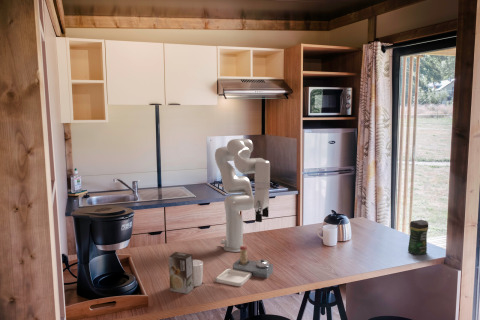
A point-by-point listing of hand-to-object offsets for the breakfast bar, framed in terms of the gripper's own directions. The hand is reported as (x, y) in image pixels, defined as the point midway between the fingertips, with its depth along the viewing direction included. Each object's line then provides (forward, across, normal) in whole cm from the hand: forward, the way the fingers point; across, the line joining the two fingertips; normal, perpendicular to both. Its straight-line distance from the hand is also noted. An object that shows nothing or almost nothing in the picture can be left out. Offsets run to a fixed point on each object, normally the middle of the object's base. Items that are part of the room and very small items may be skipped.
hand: (262, 219), depth 201 cm
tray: (+26, +18, -8) cm, 32 cm away
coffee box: (+26, +36, -26) cm, 51 cm away
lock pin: (+25, +7, -7) cm, 27 cm away
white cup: (+26, +28, -23) cm, 45 cm away
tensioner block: (+26, +7, -2) cm, 27 cm away
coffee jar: (+26, -56, +73) cm, 96 cm away
